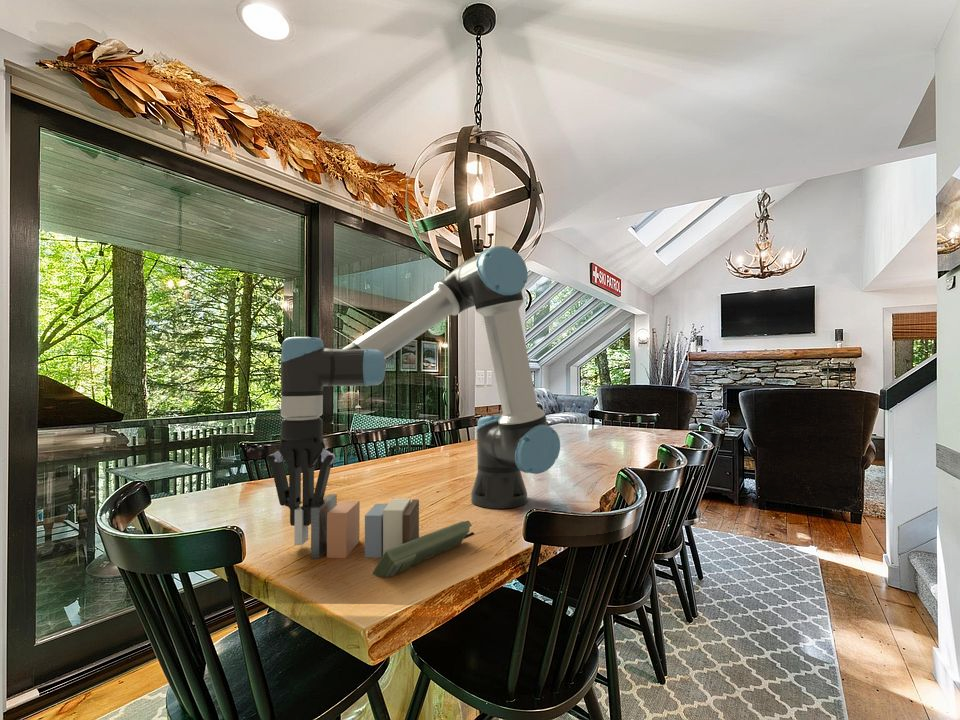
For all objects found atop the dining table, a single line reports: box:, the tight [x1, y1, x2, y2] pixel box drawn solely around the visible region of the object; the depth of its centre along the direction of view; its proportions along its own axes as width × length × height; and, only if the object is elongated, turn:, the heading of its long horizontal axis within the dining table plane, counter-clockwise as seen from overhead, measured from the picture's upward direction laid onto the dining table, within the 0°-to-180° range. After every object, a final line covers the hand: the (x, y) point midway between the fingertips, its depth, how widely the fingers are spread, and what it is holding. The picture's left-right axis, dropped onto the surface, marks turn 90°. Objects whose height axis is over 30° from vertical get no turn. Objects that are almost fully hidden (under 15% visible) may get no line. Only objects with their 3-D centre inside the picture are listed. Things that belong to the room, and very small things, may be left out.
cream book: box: [382, 497, 412, 556], centre depth 84 cm, size 4×8×8 cm, turn 178°
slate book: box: [364, 503, 389, 558], centre depth 84 cm, size 3×8×8 cm, turn 178°
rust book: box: [326, 500, 361, 559], centre depth 85 cm, size 4×8×8 cm, turn 178°
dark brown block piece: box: [403, 498, 420, 544], centre depth 85 cm, size 21×10×9 cm, turn 88°
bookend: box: [310, 494, 338, 559], centre depth 85 cm, size 2×9×9 cm, turn 178°
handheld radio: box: [372, 520, 476, 578], centre depth 82 cm, size 7×3×25 cm
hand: (301, 542), depth 85 cm, fingers closed
